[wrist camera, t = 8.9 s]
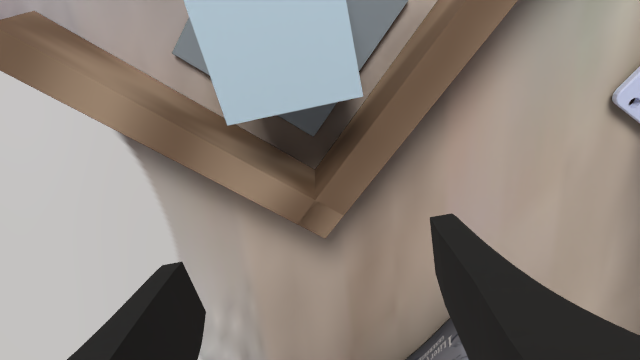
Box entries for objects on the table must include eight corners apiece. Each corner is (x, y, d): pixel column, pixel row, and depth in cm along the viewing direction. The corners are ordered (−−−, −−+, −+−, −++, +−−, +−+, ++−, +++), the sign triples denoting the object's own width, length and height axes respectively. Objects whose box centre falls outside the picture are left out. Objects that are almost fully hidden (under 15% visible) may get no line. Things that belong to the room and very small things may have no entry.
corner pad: (407, -1, 19) (408, -1, 18) (313, 134, 22) (313, 136, 21) (253, -116, 17) (253, -117, 16) (173, 51, 20) (172, 53, 19)
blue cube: (329, -63, 17) (334, -63, 13) (352, 60, 20) (363, 96, 15) (209, -33, 18) (175, -23, 13) (246, 84, 20) (227, 125, 16)
